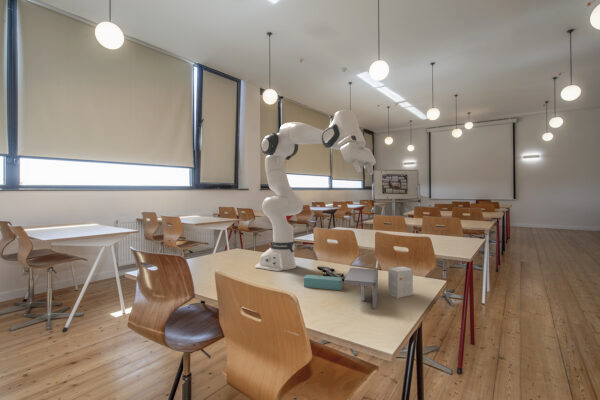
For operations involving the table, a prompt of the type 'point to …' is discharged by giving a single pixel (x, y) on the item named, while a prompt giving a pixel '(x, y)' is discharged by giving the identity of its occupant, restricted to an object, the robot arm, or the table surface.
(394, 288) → the small box
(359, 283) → the overhang shelf
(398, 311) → the table surface
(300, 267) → the table surface
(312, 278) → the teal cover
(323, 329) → the table surface
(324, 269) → the black toy gun
